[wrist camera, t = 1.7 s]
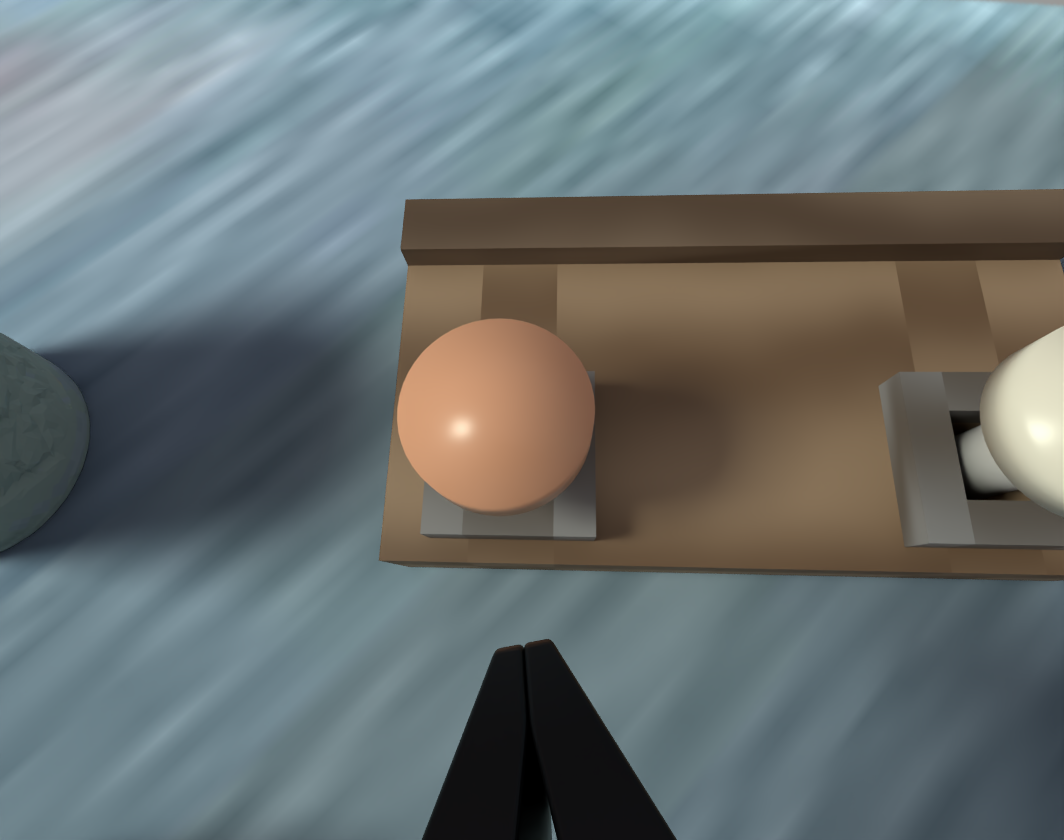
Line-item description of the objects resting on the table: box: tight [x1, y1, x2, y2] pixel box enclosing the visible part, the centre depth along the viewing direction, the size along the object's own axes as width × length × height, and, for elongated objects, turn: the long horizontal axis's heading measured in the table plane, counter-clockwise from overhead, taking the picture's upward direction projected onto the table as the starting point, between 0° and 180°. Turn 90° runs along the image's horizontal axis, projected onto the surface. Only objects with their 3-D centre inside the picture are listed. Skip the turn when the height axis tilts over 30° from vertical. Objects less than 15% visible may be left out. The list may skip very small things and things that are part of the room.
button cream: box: [954, 326, 1064, 518], centre depth 15 cm, size 5×5×6 cm
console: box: [379, 189, 1064, 581], centre depth 20 cm, size 12×22×5 cm, turn 89°
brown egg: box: [397, 318, 595, 516], centre depth 16 cm, size 5×5×6 cm
